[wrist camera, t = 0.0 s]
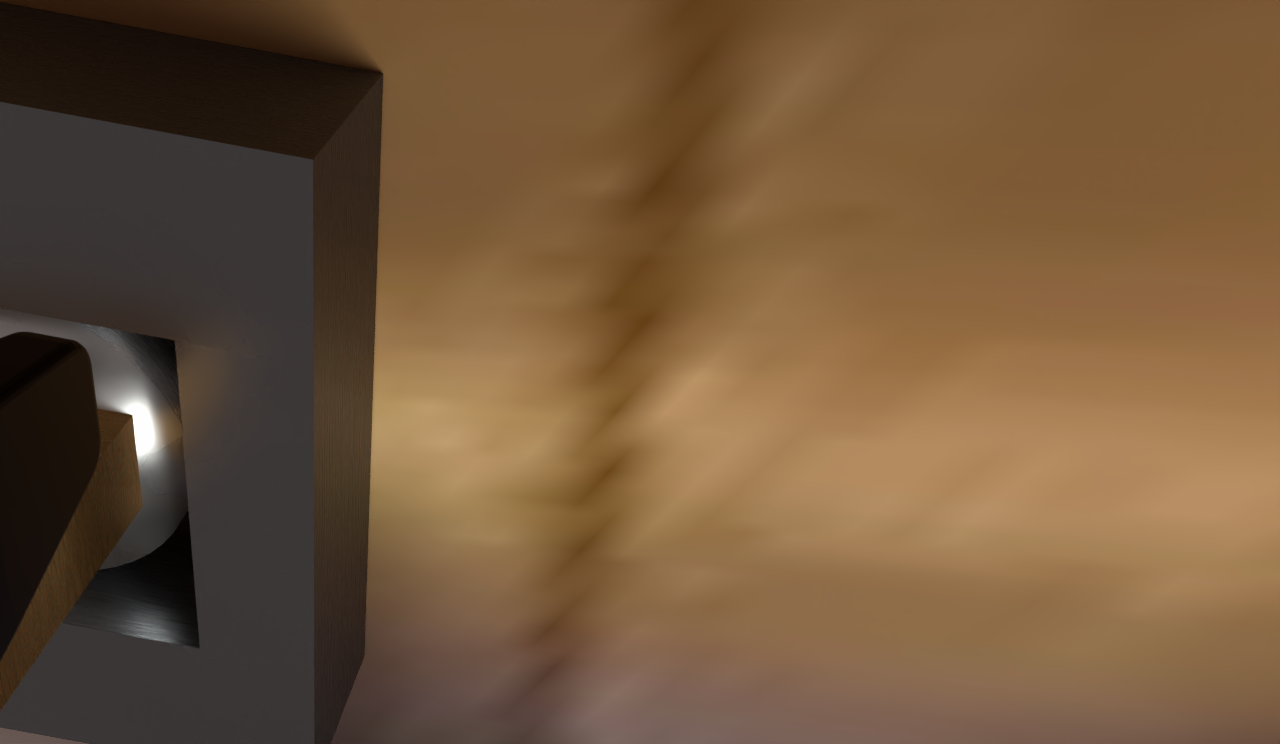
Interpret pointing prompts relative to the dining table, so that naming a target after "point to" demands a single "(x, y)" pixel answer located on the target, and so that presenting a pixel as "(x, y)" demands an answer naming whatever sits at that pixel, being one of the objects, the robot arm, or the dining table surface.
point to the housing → (207, 364)
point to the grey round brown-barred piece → (109, 475)
